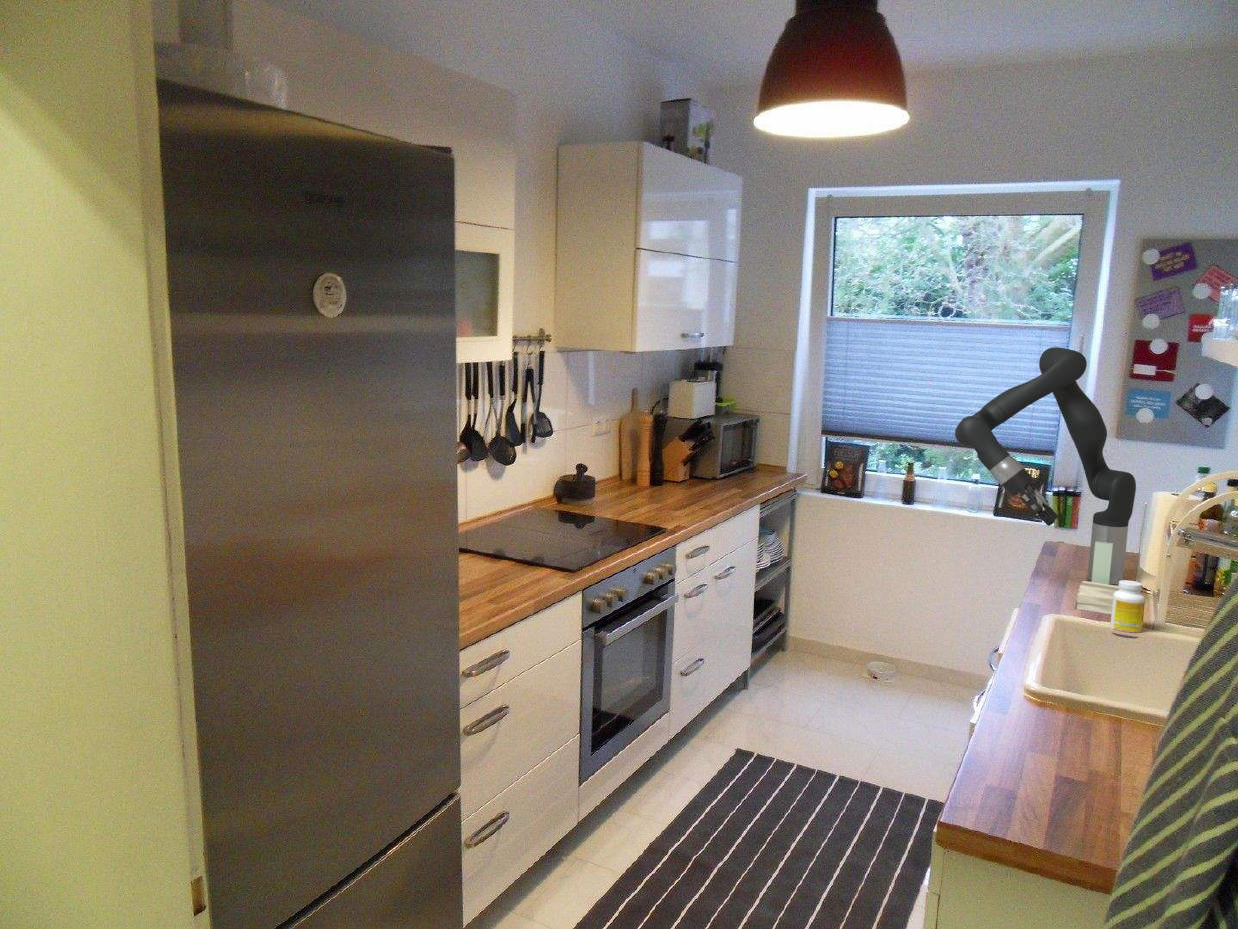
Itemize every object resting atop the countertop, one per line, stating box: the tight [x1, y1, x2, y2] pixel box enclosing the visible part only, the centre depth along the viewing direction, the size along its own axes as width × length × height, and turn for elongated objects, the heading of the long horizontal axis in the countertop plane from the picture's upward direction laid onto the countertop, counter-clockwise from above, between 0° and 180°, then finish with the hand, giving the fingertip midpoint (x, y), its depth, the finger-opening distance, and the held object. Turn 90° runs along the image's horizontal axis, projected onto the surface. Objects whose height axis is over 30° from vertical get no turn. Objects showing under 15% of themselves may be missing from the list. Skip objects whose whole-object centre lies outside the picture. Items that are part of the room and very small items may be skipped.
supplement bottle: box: [1109, 579, 1146, 639], centre depth 207 cm, size 7×7×13 cm
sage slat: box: [1091, 542, 1113, 585], centre depth 229 cm, size 2×4×16 cm, turn 58°
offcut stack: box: [1076, 580, 1120, 615], centre depth 224 cm, size 7×10×6 cm
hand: (1053, 521), depth 234 cm, fingers open, 8 cm apart
